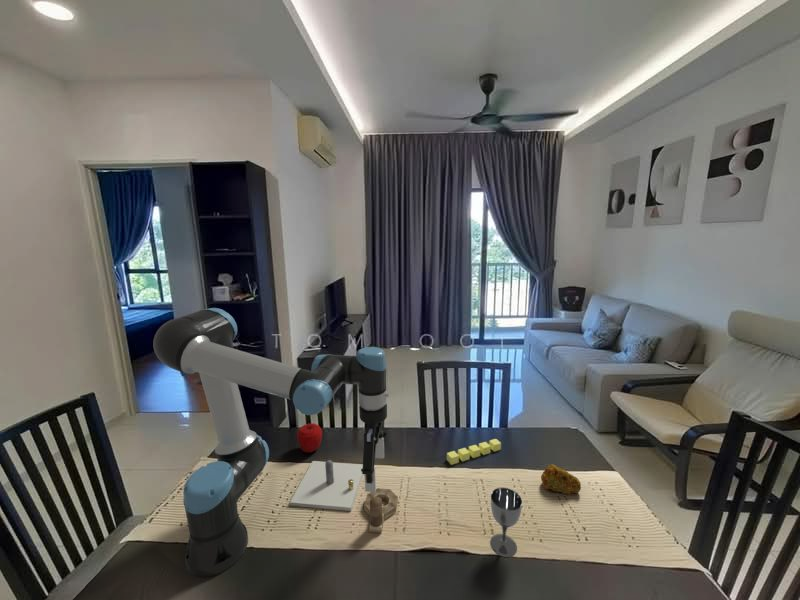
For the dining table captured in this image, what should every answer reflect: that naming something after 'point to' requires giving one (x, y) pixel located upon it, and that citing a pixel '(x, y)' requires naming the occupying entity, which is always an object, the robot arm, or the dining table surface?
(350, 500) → the board
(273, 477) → the dining table surface
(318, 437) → the apple
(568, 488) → the brown lumpy piece
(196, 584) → the dining table surface
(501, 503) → the wine glass
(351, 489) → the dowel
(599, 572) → the dining table surface
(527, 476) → the dining table surface
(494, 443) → the yellow cube row
